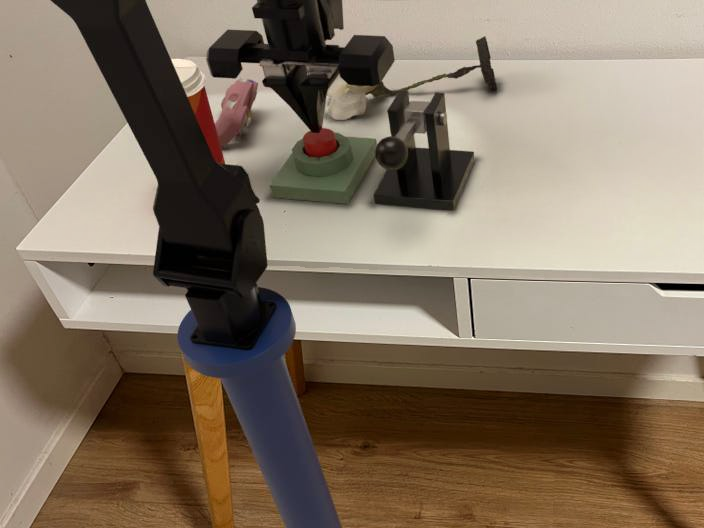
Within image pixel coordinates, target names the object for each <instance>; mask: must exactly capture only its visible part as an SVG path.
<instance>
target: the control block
mask: <svg viewBox="0 0 704 528" xmlns="http://www.w3.org/2000/svg"><path fill="white" fill-rule="evenodd" d="M334 133H335V138H336V143H337V150H336V152H334V153H332V154H330V155H328V156H323V157H310V156H308V155H307V154H306V151H305V147H304V143H303V137H302V138H301V139H299V140H297V141H296V143H295V144H294V145H293V147H292V148H291V153H290V155H289V157H288V158H287V159H286V161H285V162H284V164H283V165H282V166H281V167H280V169H279V171H278V172H277V174H276V175H275V176H274V178H272V180H271V182H270V183H269V189H270V192H271V195H272V198H274V199H287V200H297V201H298V200H299V201H311V202H321V203H331V204H343V205H348V204H349V203H350V201H351V199H352V197H353V196H354V194H355V192H356V191H357V188H358V187H359V185H360V183H361V182H362V180H363V178H364V176H365V174H366V173H367V171H368V169H369V168H370V166H371V165H372V162H373V161H374V159H375V158H376V156H375V149H376V146H377V144H378V141H377V138H373V137H359V136H347V135H343V134H341V133H339V132H334Z"/></svg>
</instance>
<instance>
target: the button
mask: <svg viewBox="0 0 704 528" xmlns="http://www.w3.org/2000/svg"><path fill="white" fill-rule="evenodd" d="M335 133H336V132H335V131H334V130H332V129H330V128H327V127H322V129H321V131H320V132H319V133H312V132H311V131H310V130H308V131H307V132H306V133H305V134H303V136H302V138H303V143H304V147H305V151H306V154H307V155H308V156H310V157H323V156H328V155H330V154H332V153H334V152H336V150H337V143H336V138H335Z"/></svg>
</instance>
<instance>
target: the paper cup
mask: <svg viewBox="0 0 704 528" xmlns="http://www.w3.org/2000/svg"><path fill="white" fill-rule="evenodd" d="M171 60H172V63H173V65H174V67H175V70H176V72H177V74H178V76H179V79H180V81H181V83H182V86H183V88H184V90H185V93H186V95H187V97H188V99H189V102H190V104H191V106H192V109H193V111H194V113H195V116H196V118H197V120H198V122H199V125H200V127H201V129H202V132H203V134H204V136H205V138H206V141H207V143H208V145H209V148H210V150H211V152H212V155H213V157H214V159H215V160H216V161H217V162H218V163H220V164H226V161H225V157H224V152H223V150H222V147H221V145H220V142H219V138H218V134H217V130H216V127H215V120H214V116H213V112H212V108H211V105H210V101H209V97H208V93H207V90H206V89H207V88H206V86H205V84H206V79H207V78H206V76H205V74H204V73H203V72H202V71H201V70H200V69H199V67H198V65H197V64H196V63H194V62H193V61H192V60H189V59H184V58H171Z"/></svg>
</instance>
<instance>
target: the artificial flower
mask: <svg viewBox="0 0 704 528" xmlns="http://www.w3.org/2000/svg"><path fill="white" fill-rule="evenodd" d="M475 43H476V44H475V45H476V48H477V49H476V50H477V55H478V61H479V64H478V65H472V66H463V67H461V68H459V69H458V68H457V69H456V71H454V72H449V73H443V74H439V75H436V76H432V77H431V78H429V79H425V80H420V81H418V82H416V83H412V85H408V86H406V87H405V86H404V87H403V88H400V89H396V90H395V89H394V90H391V89H389V88H387V86H385V84H384V82H383V80H382V81H381V83H380V84H378V85H375V86H360V85H348V84H347V83H346V82H345V81H344V80H343V79H342V78H341V77H340V74H339V75H338V76H337V78H336V79H335V80H334V82H333V83H332V85H331V86H330V87H329V89H328V92H327V97H328V98H330V101H329V103H328V106H327V109H328V116H329V117H330V118H332V119H333V120H335V121H345V120H348V119H351V118H352V117H354V116H359V115H363V114H364V113H365V112H366V108H367V97H366V96H367V95H370V94H371V96H372V97H374V98H379V97H383V96H389V95H390V96H391V95H392V96H393V95H397V94H398V92H399V90H405V91H409V90H411V89H415V88H418V87H420V86H421V85H425V84H427V83H432V82H434V81H440V80H442V79H445V78H448V79H459V78H461V77H463V76H465V75H467V74H469V73H470V72H471V71H474V70H475V69H478V68H479V69H480V72H481V74H482V77H483V80H484V84H485V85H488V86H489V88H490V89H491V90H498V86H497V81H496V77H495V71H494V69H493V67H492V64H491V58H492V57H491V53H490V50H489V49H490V48H489V43H488V41H487V37H486V35H484V36H482V37H480V38H478V39H476V40H475Z"/></svg>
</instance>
